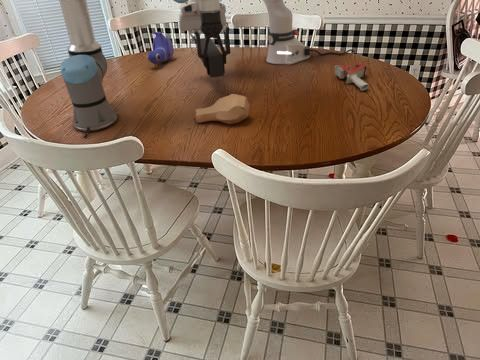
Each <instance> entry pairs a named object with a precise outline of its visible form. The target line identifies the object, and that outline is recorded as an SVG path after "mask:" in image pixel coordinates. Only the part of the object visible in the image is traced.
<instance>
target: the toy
mask: <svg viewBox="0 0 480 360" xmlns="http://www.w3.org/2000/svg"><path fill="white" fill-rule="evenodd" d="M151 34H152V35H155V36H154V38H153V43H152V50H150V51H148V53H147V56H146V59H147V60H148V61H149V62H150V63H151V64H154V67H155V69H158V68H157V67H158V64H161V63H164V62H167V61H168V60H170V59H171V58H172V57H173V56H174V54H175V53H174V52H175V48H174V44H173V41H172V40H171V38H170V37H169V36H168V35H164V34H163V33H162V32H161V31H158V32H157V31H154V32H152V33H151Z"/></svg>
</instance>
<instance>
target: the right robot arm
mask: <svg viewBox="0 0 480 360" xmlns="http://www.w3.org/2000/svg"><path fill="white" fill-rule="evenodd" d="M262 1H263V3H264V5H265V7H266V9H267V13H268V37H267V40H268V48H267V54H266V59H265V61H266V62H267V63H269V64H273V65H289V66H290V65H291V66H292V65H294V64H297V63H300V62H302V61H305V60H308V59H310V57H311V56H310V54H311V52H315V53H317V54H318V55H319V56H325V55H329V54H331V55H337V56H338V55H339V56H340V55H345V54H347V53H349V52H352V53H355V50H354V49H352V48H351V49H348V50H346V51H344V52H333V51H328V52H323V53H321V52H320V51H318V50H316V49H310V46H309V45H305V44H304V43H303V42H301V41H300V40H299V39H298V38H297V37H296V36H299V34H300V31H299V30H297V29H295V30H294V29H293V12H292V11H291V9H290V8H288V7H287V6H286V4H285V2H284V0H262ZM226 9H227V7H226V5H225V4H224V3H222V2H220V9H219V11H220V13H221V23H222V25H223V26H227V17H226V12H227V10H226ZM179 10H180V12H179V14H178V26H179V30H180V31H181V32H188V35H190V37H191V41H192V42H196V35H193V34H192V33H193V31H194V30H198V29H200V27H201V17H200V13H201V12H202V11H200V7H199V0H189V1H187V2H186V3H180V4H179ZM295 35H296V36H295ZM214 39H216V38H214V37H213V38H212V40H214Z"/></svg>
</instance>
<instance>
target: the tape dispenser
mask: <svg viewBox="0 0 480 360" xmlns="http://www.w3.org/2000/svg"><path fill="white" fill-rule="evenodd" d="M351 66H354V67H353V68H351ZM366 70H367V64H366V63H364V62H363V61H360V62H352V63H347V64H341V65H338V64H336V65H335V66H334V76H338V79H341V80H343V79H345V78H346V82H345V83H346V84H347V85H349V84H355V86H356V87H357V88H359V90H360V91H361V92H363V91H366V90H368V88H369V86H370V85H369V83H367V82H365V80H363V79H361V78H364V77H365V75H366Z"/></svg>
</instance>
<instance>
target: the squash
mask: <svg viewBox="0 0 480 360" xmlns="http://www.w3.org/2000/svg"><path fill="white" fill-rule="evenodd" d="M250 108H251V105H250V103H249V101H248V99H247V97H246V96H245V95H242V94H235V93H231V94H228V95H227V96H222V97H220V98H218V99H217V100H216V101H215V102H214V104H212V105H211V106H207V107H202V108H196V109H195V120H196V122H197V123H199V124H200V123H204V122H211V121H216V122H221V123H224V124H227V125H235V124H239V123H240V122H243V121H244V120H245V119H247V118H248V117H249V113H250Z"/></svg>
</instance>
